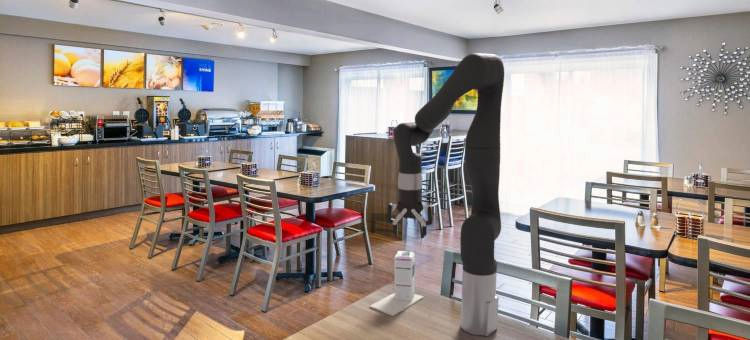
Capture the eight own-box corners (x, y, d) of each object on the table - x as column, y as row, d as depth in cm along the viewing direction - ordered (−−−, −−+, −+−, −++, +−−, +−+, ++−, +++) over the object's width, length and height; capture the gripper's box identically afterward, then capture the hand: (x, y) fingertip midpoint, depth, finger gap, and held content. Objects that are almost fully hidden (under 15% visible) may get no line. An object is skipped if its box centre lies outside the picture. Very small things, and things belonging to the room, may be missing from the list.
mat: (423, 298, 151) (423, 296, 151) (392, 316, 139) (392, 314, 139) (401, 290, 157) (401, 289, 157) (369, 307, 145) (369, 305, 145)
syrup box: (412, 301, 148) (412, 257, 145) (394, 299, 149) (394, 256, 147) (415, 293, 153) (415, 251, 151) (397, 292, 154) (397, 250, 152)
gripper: (433, 184, 149) (433, 234, 152) (389, 183, 152) (389, 231, 155) (432, 189, 142) (431, 241, 145) (385, 188, 145) (385, 238, 147)
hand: (409, 236), depth 150 cm, fingers open, 8 cm apart
